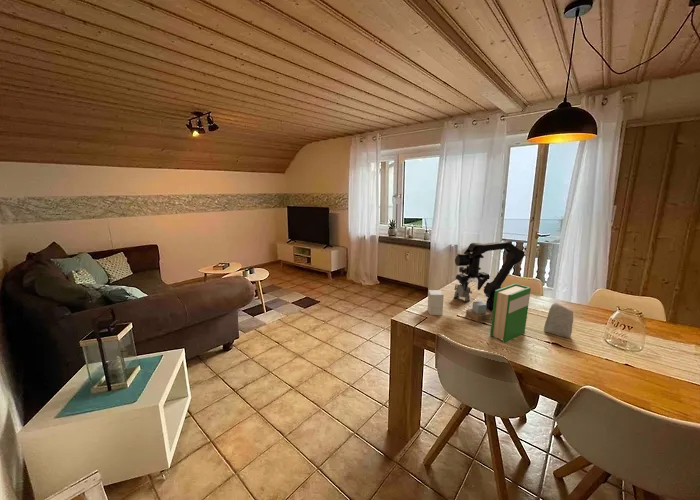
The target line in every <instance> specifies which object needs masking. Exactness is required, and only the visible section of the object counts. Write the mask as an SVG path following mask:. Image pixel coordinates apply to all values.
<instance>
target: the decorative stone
mask: <svg viewBox="0 0 700 500" xmlns="http://www.w3.org/2000/svg"><path fill="white" fill-rule="evenodd" d="M573 323H574V311H573V310H571V309H570V308H568V307H566V306H564V305H562V304H560V303H559V302H554V303H552V304H551V306H550V308H549V310H548V314H547V318H546V320H545V324H544V328H543V331H544V332H546V333H548V334H552V335H556V336H559V337H562V338H567V339H570V338H571V336H572V333H573V332H572V331H573Z"/></svg>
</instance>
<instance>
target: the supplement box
mask: <svg viewBox="0 0 700 500" xmlns="http://www.w3.org/2000/svg"><path fill="white" fill-rule="evenodd" d="M427 295H428V297H427V299H428V300H427V311H428V314H429V315H430V316H443V313H444V297H445V295H444V293H443V291H442V290H438V289H436V290H434V289H429V290H428V293H427Z"/></svg>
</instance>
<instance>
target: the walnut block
mask: <svg viewBox="0 0 700 500" xmlns="http://www.w3.org/2000/svg"><path fill="white" fill-rule="evenodd" d="M465 316H466V317H467V318H469V319H471V320H472V321H474V322H476V323H482V322H487V321H492V313H491V312H489V311H487V310H486V313H483V314H477V313H475V312H474V311H472V308H469V309H466V311H465Z"/></svg>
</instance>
